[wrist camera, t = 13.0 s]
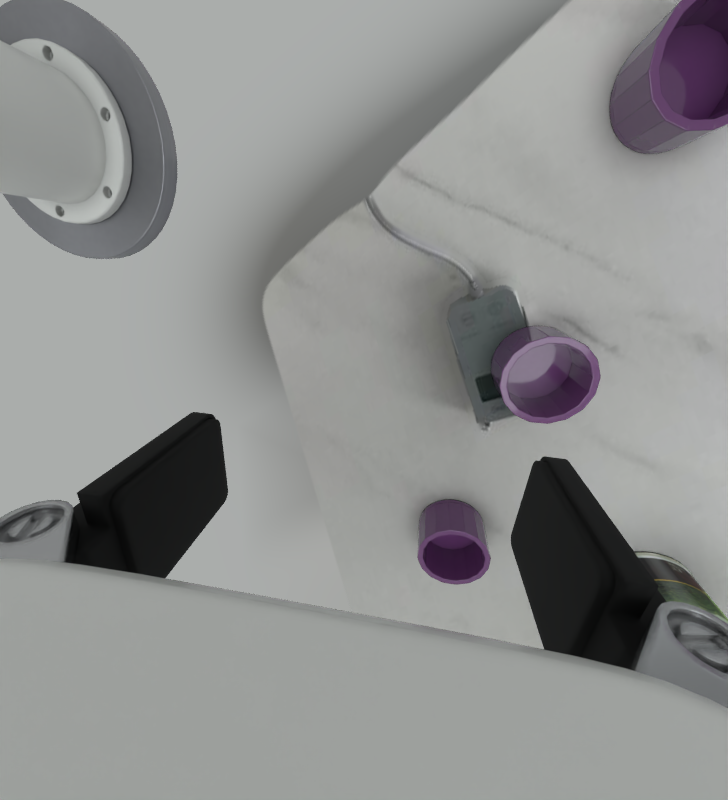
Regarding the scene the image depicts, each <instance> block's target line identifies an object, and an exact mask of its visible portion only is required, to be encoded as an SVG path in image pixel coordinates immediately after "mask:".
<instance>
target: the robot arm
mask: <svg viewBox="0 0 728 800" xmlns="http://www.w3.org/2000/svg"><path fill="white" fill-rule="evenodd" d="M131 173H132V153H131V146H130V139H129V135H128V131H127V127H126V124H125V120H124V118H123V115H122V113H121V111H120V108H119V106H118V104H117V102H116V100H115V98H114V96H113V95H112V93H111V91H110V90H109V88H108V86H107V85H106V84H105V82H104V81H103V80H102V79H101V77H100V76H99V75H98V74H97V72H96V71H95V70H94V69H93V68H92V67H90V66H89V65H88V64H87V63H86V62H85V61H84V60H83V59H81V58H80V57H78V56H77V55H75V54H73V53H72V52H70V51H69V50H67V49H65V48H63V47H61V46H59V45H57V44H55V43H53V42H51V41H47V40H43V39H38V38H34V39H23V40H20V41H18V42H15V43H13V44H11V45H9V44H7V43H5V42H3V41H1V40H0V193H3V194H9V195H15V196H22V197H27V198H28V199H29V201H31V202H32V203H33V204H34V205H35V206H37V207H38V208H39V209H40V210H42V211H43V212H45V213H47V214H48V215H50V216H52V217H53V218H56V219H59V220H61V221H64V222H69V223H76V224H94V223H98V222H101V221H103V220H105V219H107V218H109V217H110V216H111V215H113V214H114V213H115V212H116V211H117V210H118V209H119V207H120V205H121V204H122V202H123V201H124V199H125V197H126V194H127V191H128V188H129V185H130V179H131ZM227 493H228V488H227V478H226V470H225V461H224V452H223V444H222V435H221V427H220V422H219V421H218V420H216V419H215V417H214V416H213V415H212V414H206V413H198V412H193V413H191V414H189V415H188V416H186V417H185V418H183V419H182V420H180V421H179V422H178V423H176V424H175V425H173V426H172V427H170V428H169V429H168V430H166V431H165V432H163V433H162V434H160V435H159V436H158V437H156V438H155V439H153V440H152V441H150V442H149V443H148V444H146V445H145V446H143V447H142V448H140V449H139V450H138V451H136V452H135V453H133V454H132V455H130V456H129V457H128V458H126V459H125V460H123V461H122V462H120V463H119V464H118V465H116V466H115V467H113V468H112V469H110V470H109V471H108V472H106V473H105V474H103V475H102V476H101V477H99V478H98V479H96V480H95V481H93V482H92V483H90V484H89V485H88V486H86V487H85V488H83V489H82V490H80V491H79V492H78V493H77V494H78V497H79V500H80V503H79V504H77V505H76V506H75V507H72V505H71V504H69V503H68V502H66V501H61V500H47V501H42V502H36V503H33V504H30V505H27V506H23V507H21V508H19V509H16V510H14V511H11V512H9V513H8V514H6V515H4V516H3V517H1V518H0V800H728V624H727V623H726V622H724V621H722V620H721V619H719V618H718V617H716V616H715V615H713V614H711V613H709V612H707V611H705V610H703V609H701V608H699V607H696V606H693V605H690V604H687V603H684V602H676V601H668V602H667V601H666V600H665V599H664V597H663V596H662V594H661V593H660V592H659V590H658V587H659V586H658V584H657V583H656V582H655V580H654V579H653V577H652V576H651V575H650V573H649V572H648V571H647V569H646V568H645V566H644V565H643V564H642V562H641V561H640V559H639V558H638V557H637V555H636V554H635V553H634V551H633V550H632V548H631V547H630V546H629V544H628V543H627V541H626V540H625V539H624V537H623V536H622V535H621V533H620V532H619V530H618V529H617V528H616V526H615V525H614V524H613V522H612V521H611V519H610V518H609V517H608V515H607V514H606V512H605V511H604V510H603V508H602V507H601V506H600V504H599V503H598V501H597V500H596V499H595V497H594V496H593V494H592V493H591V492H590V490H589V489H588V488H587V486H586V485H585V483H584V482H583V481H582V479H581V478H580V476H579V475H578V474H577V472H576V471H575V470H574V468H573V467H572V465H571V464H570V463H569V461H568V460H566V459H560V458H552V457H542V459H541V460H540V461H535V462H534V463H533V466H532V469H531V472H530V475H529V479H528V482H527V485H526V488H525V492H524V495H523V498H522V501H521V505H520V508H519V511H518V514H517V518H516V521H515V524H514V527H513V531H512V534H511V545H512V549H513V552H514V555H515V559H516V562H517V565H518V568H519V571H520V574H521V577H522V581H523V584H524V587H525V590H526V593H527V596H528V599H529V603H530V606H531V609H532V612H533V615H534V618H535V621H536V625H537V628H538V631H539V634H540V637H541V640H542V643H543V647H544V649H539V648H534V647H529V646H524V645H519V644H515V643H510V642H505V641H500V640H495V639H490V638H485V637H479V636H474V635H469V634H464V633H458V632H453V631H448V630H443V629H437V628H432V627H427V626H422V625H416V624H411V623H406V622H401V621H395V620H390V619H385V618H380V617H374V616H369V615H363V614H358V613H353V612H347V611H342V610H336V609H331V608H326V607H320V606H315V605H309V604H304V603H298V602H293V601H288V600H282V599H277V598H271V597H266V596H260V595H255V594H250V593H244V592H238V591H233V590H227V589H222V588H216V587H210V586H205V585H199V584H194V583H188V582H182V581H176V580H171V579H165V578H166V577H167V575H168V574H169V573H170V571H171V570H172V569H173V567H174V566H175V565H176V564H177V562H178V561H179V560H180V559H181V557H182V556H183V555H184V553H185V552H186V551H187V550H188V548H189V547H190V546H191V545H192V543H193V542H194V541H195V539H196V538H197V537H198V536H199V534H200V533H201V532H202V530H203V529H204V528H205V526H206V525H207V524H208V523H209V521H210V520H211V519H212V518H213V516H214V515H215V513H216V512H217V511H218V510H219V509H220V507H221V506H222V505H223V504H224V502H225V500H226V498H227V495H228V494H227Z"/></svg>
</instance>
